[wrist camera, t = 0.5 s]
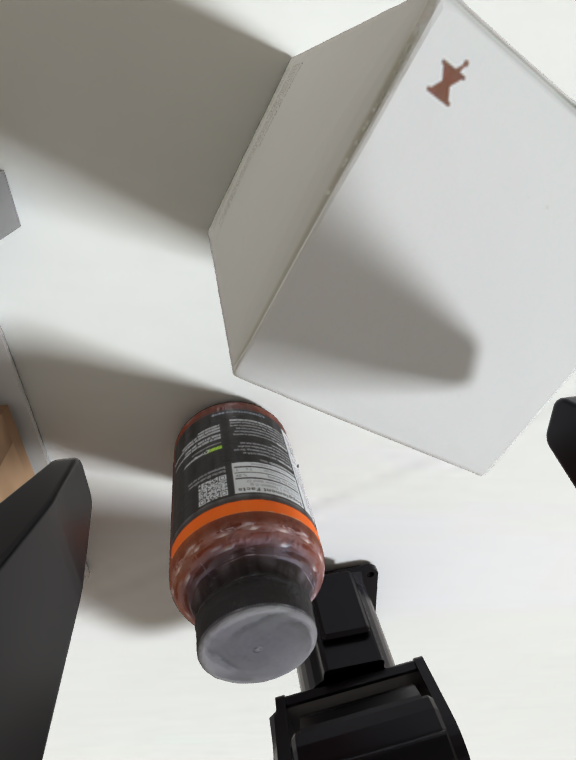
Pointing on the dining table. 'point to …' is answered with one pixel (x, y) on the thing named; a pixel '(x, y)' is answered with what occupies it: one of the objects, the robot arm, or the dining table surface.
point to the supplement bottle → (243, 544)
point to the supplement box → (407, 235)
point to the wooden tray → (12, 456)
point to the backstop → (3, 378)
